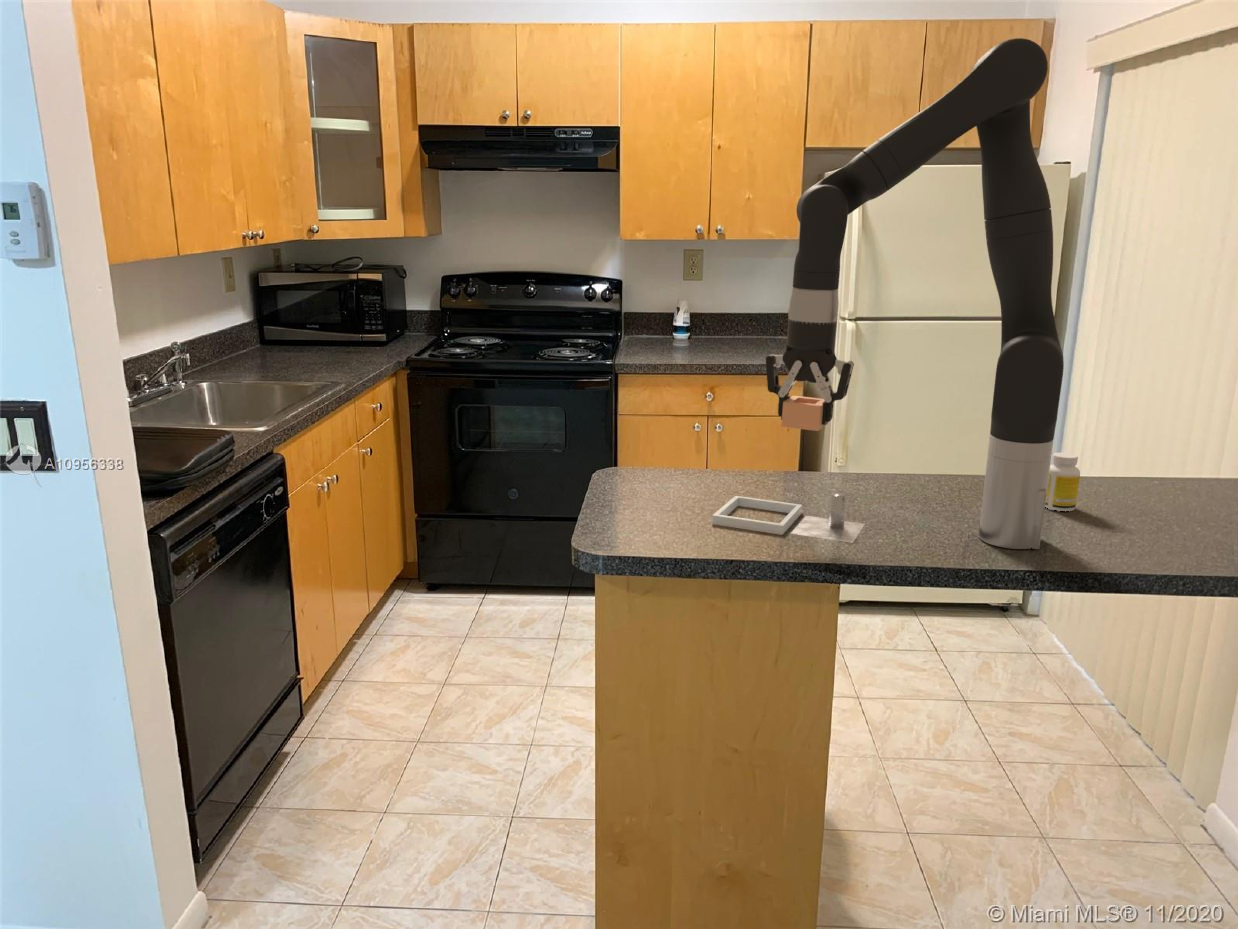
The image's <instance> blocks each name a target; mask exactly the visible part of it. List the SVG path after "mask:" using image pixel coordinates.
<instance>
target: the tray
mask: <svg viewBox="0 0 1238 929" xmlns="http://www.w3.org/2000/svg"><path fill="white" fill-rule="evenodd" d="M738 507H743V508H744V507H745V508H750V509H757V510H758V509H759V510H764V511H771V512H778V513H779V512H780V513H785V514H786V513H787V515H786V516H785V517H784V518H783V519H782V520H781V522H772V521H765V520H760V519H753V518H752V519H751V518H744V517H737V516H731V515H730V514H731V513H732V512H733V511H734V510H735V509H737V508H738ZM802 512H803V504H799V503H792V502H790V503H789V502H783V501H776V500H771V499H762V498H755V497H749V496H748V497H747V496H739V495H735V496H734V497H731V499H730V500H729V501H727V502H726V503H725V504H724V505H723V506H722V507H720V508H719V509H718V510H717V511H715V512H714V513H713V514H712V518H711V519H712V520H711V524H712V525H716V526H723V527H730V528H737V529H742V530H749V531H756V532H762V533H768V534H774V535H780V536H781V535H782V536H783V535H784V534H785V533H786V532H787V531H788V530H789V528H790V527H791V526H792V525H793V524H794V523H795V522H796V521H797V520H798V518H799V517H800V516H801V515H802Z"/></svg>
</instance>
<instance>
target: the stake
mask: <svg viewBox="0 0 1238 929" xmlns="http://www.w3.org/2000/svg"><path fill="white" fill-rule="evenodd" d="M846 503H847V494H845V493H844V492H843V493H841V492H832V493H831V494H830V504H829V505H830V507H829V508H830V510H829V518H825V517H818V516H812V515H805V516H804V517H803V518H802V519H801V521H800V522H799V523H797V525H796V527H794V529H793V530H792V531H791V532H790V534H791V535H797V536H802V537H809V538H817V539H823V540H828V541H829V540H830V541H836V542H843V543H848V544H853V543H854V542H855V540H856V539H857V537H858V536H859V535H860V533H861V531H862V530H863V529H864V527H865V525H866V523H861V522H855V521H854V522H853V521H846V519H845V517H846Z"/></svg>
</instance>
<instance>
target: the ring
mask: <svg viewBox="0 0 1238 929" xmlns="http://www.w3.org/2000/svg"><path fill="white" fill-rule="evenodd" d="M823 402H824V398H819V397H810V396H800V395H791V396H790V398H789V399H787V400H786V401H784V402H783V411H782V420H781V427H782V428H783V427H784V428H792V429H798V430H806V431H807V430H808V431H816V432H819V431H820V430H822V429H823V428H824V427H825V426H826V425H822V414H823Z"/></svg>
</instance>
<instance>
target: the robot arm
mask: <svg viewBox="0 0 1238 929" xmlns="http://www.w3.org/2000/svg"><path fill="white" fill-rule="evenodd" d="M1048 64H1049V61H1048V58H1047V55H1046V53H1045V51H1044V49H1043V48H1042V47H1041V45H1039V44H1038V43H1036V42H1035V41H1033V40H1030V39H1027V38H1022V37H1021V38H1020V37H1019V38H1017V37H1016V38H1010V39H1006V40H1004V41H1001V42H998V43H997V44H996V45H994V46H992V48H990V49H989V50H987V52H985V53H984V54H983V55H982V56H980V58H979V59H978V61H976V62H975V64H974V65H973V68H972V70H971V71H970V73H968V75H966V76H965V77H964V78H963V79H962V80H961V81H959V83H958V84H956V85H955V86H954V87H952V89H950V90H949V91H947V92H946V93H945V94H944V95H943V96H941V97H940V98H938V99H937V100H936V101H935V102H933V103H931V104H930V105H928V106H927V107H926V108H924V109H922V110H921V111H920V112H918V113H916V114H914V115H913V116H912V117H911V118H909V119H907V120H906V121H903V122H902V123H901V124H900V125H898V126H896V127H895V128H893V129H892V130H891V131H889V132H887V133H886V134H884V135H883V136H881V137H880V138H879V139H877V140H876V141H875V142H873V143H872V144H871V145H869V146H868V147H866V148H865V149H863V150H862V151H860V153H858V154H857V155H855V156H854V157H853V158H852V159H851V160H850V161H849V162H848V163H847V164H845V165H844V166H842V167H841V168H839V169H837V170H835V171H834V172H832V173H831V174H829V175H828V176H825V177H824V178H822V179H820V180H819V181H818V182H817V183H815V184H814V185H812V186H811V187H809V188H808V189H807V190H805V191H804V192H803V193H802V195H801V196H800V197H799V199H798V201H797V204H796V217H797V220H798V221H799V223H800V226H799V240H798V241H799V242H798V251H797V253H796V255H795V260H794V265H793V276H792V278H793V279H792V289H791V295H790V299H789V307H788V310H787V312H788V313H787V314H788V322H787V334H786V335H787V336H786V347H785V351H784V353H783V354H776V353H771V354H769V355H768V356H766V357H765V367H766V368H765V370H766V383H767V384H766V385H767V390H768V391H767V392H769V393H773V394H775V395H776V396H777V397H778V404H777V405H778V408H777V415H778V416H779V417H780V420H781V421H782V411H783V402H784V401H786V400H787V399H789V398H790V397H791V396H790V393H791V390H792V389H793V387H794V385H795V384H796V383H797V382H805V381H807V382H809V383H813V384H817V387H818V389H819V391H820V392H821V395H822V399H824V402H823V414H822V425H825V426H826V425H828V423H830V422H831V421H832V420H833V416H834V405H835V402H836V401H841V400H843V399H844V398H845V397H847V395H848V391H849V387H850V381H851V379H852V375H853V374H852V373H853V369H854V366H855V363H854V362H853V361H852V360H848V361H846V360H845V361H844V360H841V359H837V356H836V354H835V348H836V337H837V326H838V315H839V305H840V304H839V303H840V302H839V285H840V273H841V256H842V250H843V245H844V241H845V237H846V231H847V224H848V218H849V217H848V216H849V215H850V214H851V213H853V212H855V211H856V210H857V209H859V208H860V207H861V206H863V205H864V204H866V203H867V202H869V201H873V200H874V199H877V198H879V197H880V196H882V195H883V194H885V193H887V192H888V191H889V190H891V189H893V188H894V187H895V186H896V185H898V184H900V183H901V182H902V181H904V180H906V178H908V177H909V176H911V175H912V174H914V172H916V171H917V170H919V169H920V168H921V167H923V166H924V165H925V164H927V163H928V162H929V161H930V160H931V159H933V158H934V157H935V156H936V155H937V154H939V153H940V152H942V151H943V150H945V148H947V147H948V146H949V145H951V144H952V143H953V142H955V141H956V140H957V139H959V138H960V137H962V136H963V135H965V134H966V133H967V132H969V131H971V130H973V129H974V128H975V127H976V131H977V137H978V141H979V147H980V148H979V149H980V155H981V156H980V158H981V161H980V162H981V186H982V200H983V218H984V219H983V220H984V229H985V240H986V249H987V253H988V259H989V264H990V268H991V272H992V276H993V279H994V284H995V287H996V292H997V294H998V298H999V305H1000V316H1001V319H1000V320H1001V324H1000V326H1001V332H1000V333H1001V340H1000V352H999V356H998V358H997V362H996V368H995V369H996V370H995V377H994V378H995V379H994V386H993V387H994V388H993V396H992V405H991V413H990V414H991V415H990V418H991V420H990V431H989V441H988V447H987V458H986V467H985V475H984V484H983V493H982V500H981V509H980V510H981V511H980V518H979V527H978V529H979V530H978V538H979V539H980V540H981V541H983V542H985V543H986V544H989V545H991V546H994V547H995V546H996V547H1000V548H1004V549H1012V550H1028V549H1029V550H1030V549H1031V548H1032V550H1033V549H1034V550H1040V548H1041V540H1042V535H1043V534H1042V533H1043V524H1044V517H1045V509H1046V508H1045V503H1046V496H1047V486H1048V478H1049V470H1050V465H1051V463H1052V462H1051V461H1052V460H1051V459H1052V456H1053V455H1052V454H1053V445H1054V439H1055V431H1056V427H1057V421H1058V415H1059V414H1058V413H1059V405H1060V398H1061V392H1062V383H1063V377H1064V365H1065V364H1064V362H1065V361H1064V352H1063V349H1062V347H1061V344H1060V339H1059V334H1058V331H1057V330H1058V329H1057V326H1056V320H1055V314H1054V309H1053V308H1054V307H1053V301H1052V300H1053V299H1052V285H1053V284H1052V283H1053V270H1054V229H1053V218H1052V217H1053V216H1052V209H1051V208H1052V206H1051V200H1050V195H1049V194H1050V193H1049V189H1048V187H1047V186H1048V185H1047V183H1046V180H1045V176H1044V175H1043V172H1042V169H1041V166H1040V164H1039V161H1038V159H1037V156H1036V154H1035V150H1034V147H1033V141H1032V133H1031V100H1032V99H1033V98H1034V97H1036V95H1037V93H1038V92H1039V91H1040V90H1041V89H1042V87H1043V85H1044V83H1045V81H1046V79H1047V74H1048V68H1049V66H1048ZM782 362H783V363H784V365H785V367H786V368H787V370H788V371H789V373H788V374H787V375H786V378H785V379H784V381H783V384H782V385H780V382H779V381H780V379H779V368H780V367H781V366H782ZM835 367H836V369H837V374H838V375H839V376H840V378H839V380H838V385H837V389H836V391H834V389H833V387H832V381H831V379H830V376H829V373H830V372H831V371H832V370H833V368H835Z"/></svg>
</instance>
